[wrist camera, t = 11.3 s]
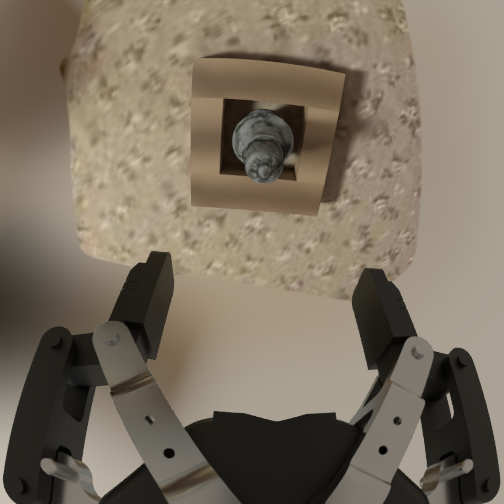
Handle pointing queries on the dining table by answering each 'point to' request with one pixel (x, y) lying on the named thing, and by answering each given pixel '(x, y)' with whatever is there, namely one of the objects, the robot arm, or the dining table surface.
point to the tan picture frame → (270, 90)
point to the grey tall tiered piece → (263, 144)
